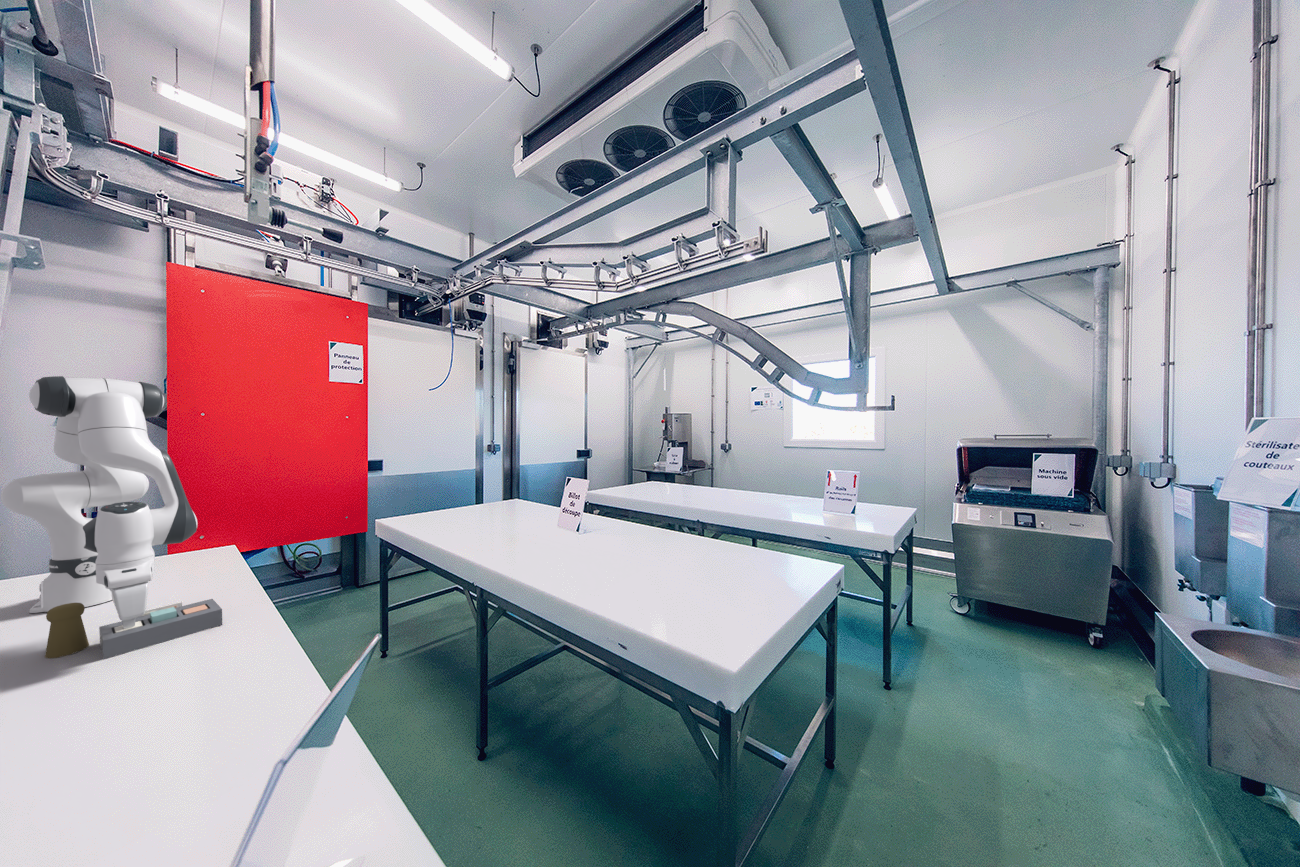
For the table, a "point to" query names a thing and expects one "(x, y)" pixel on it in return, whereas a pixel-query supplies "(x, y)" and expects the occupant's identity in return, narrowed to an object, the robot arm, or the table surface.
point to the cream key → (120, 628)
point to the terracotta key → (194, 609)
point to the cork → (66, 630)
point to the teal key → (162, 615)
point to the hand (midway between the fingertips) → (128, 626)
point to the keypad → (159, 628)
